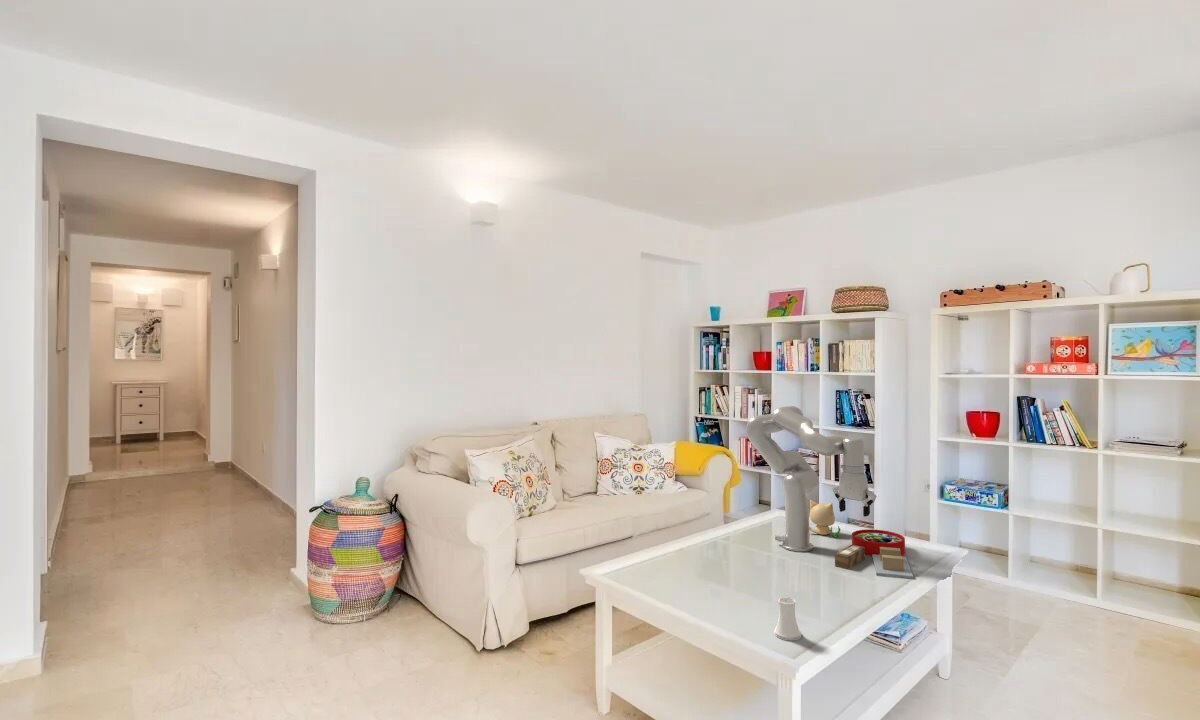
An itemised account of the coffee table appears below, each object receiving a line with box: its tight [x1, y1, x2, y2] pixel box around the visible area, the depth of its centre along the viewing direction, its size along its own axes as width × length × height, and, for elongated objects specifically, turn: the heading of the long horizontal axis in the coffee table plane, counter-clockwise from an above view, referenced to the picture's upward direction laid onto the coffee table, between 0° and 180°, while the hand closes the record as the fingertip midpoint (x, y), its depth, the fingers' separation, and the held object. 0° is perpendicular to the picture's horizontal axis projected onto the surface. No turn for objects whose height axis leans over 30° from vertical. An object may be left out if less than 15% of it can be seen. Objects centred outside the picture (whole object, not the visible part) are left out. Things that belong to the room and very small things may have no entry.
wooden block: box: [834, 544, 866, 570], centre depth 237 cm, size 16×5×5 cm, turn 135°
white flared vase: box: [773, 596, 802, 641], centre depth 177 cm, size 8×8×10 cm
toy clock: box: [851, 528, 906, 557], centre depth 252 cm, size 20×6×20 cm
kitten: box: [809, 499, 841, 538], centre depth 275 cm, size 15×10×15 cm
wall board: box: [871, 547, 914, 580], centre depth 231 cm, size 12×22×6 cm, turn 159°
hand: (854, 513), depth 238 cm, fingers open, 9 cm apart
